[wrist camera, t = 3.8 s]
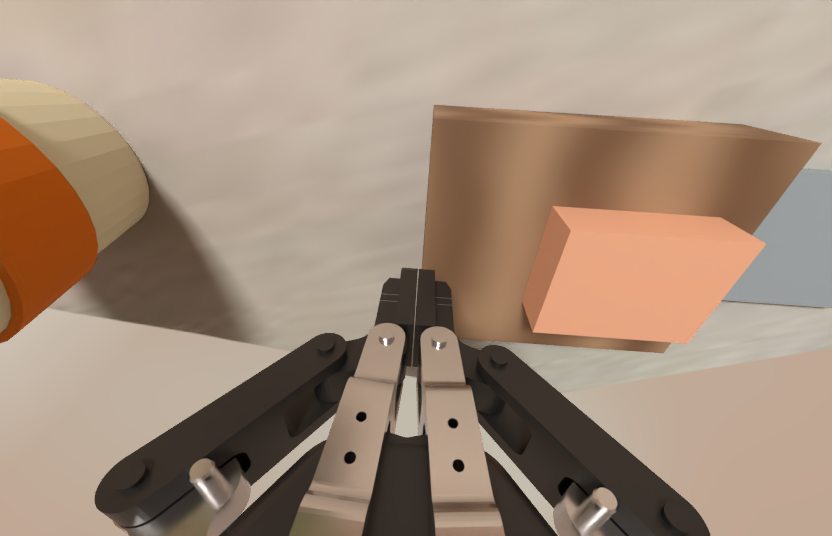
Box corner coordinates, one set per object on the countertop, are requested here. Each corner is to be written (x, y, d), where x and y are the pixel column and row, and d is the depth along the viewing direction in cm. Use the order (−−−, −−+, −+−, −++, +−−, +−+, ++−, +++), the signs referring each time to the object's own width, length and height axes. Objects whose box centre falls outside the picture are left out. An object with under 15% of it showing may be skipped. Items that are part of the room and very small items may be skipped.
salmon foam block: (721, 217, 15) (766, 243, 13) (658, 310, 18) (687, 343, 16) (552, 206, 15) (570, 230, 13) (521, 301, 18) (532, 332, 16)
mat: (959, 179, 17) (972, 182, 17) (827, 303, 22) (835, 308, 22) (719, 163, 17) (726, 166, 17) (643, 290, 22) (647, 294, 22)
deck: (743, 124, 16) (821, 143, 13) (631, 311, 24) (663, 353, 20) (433, 104, 16) (433, 118, 13) (419, 295, 24) (417, 334, 20)
